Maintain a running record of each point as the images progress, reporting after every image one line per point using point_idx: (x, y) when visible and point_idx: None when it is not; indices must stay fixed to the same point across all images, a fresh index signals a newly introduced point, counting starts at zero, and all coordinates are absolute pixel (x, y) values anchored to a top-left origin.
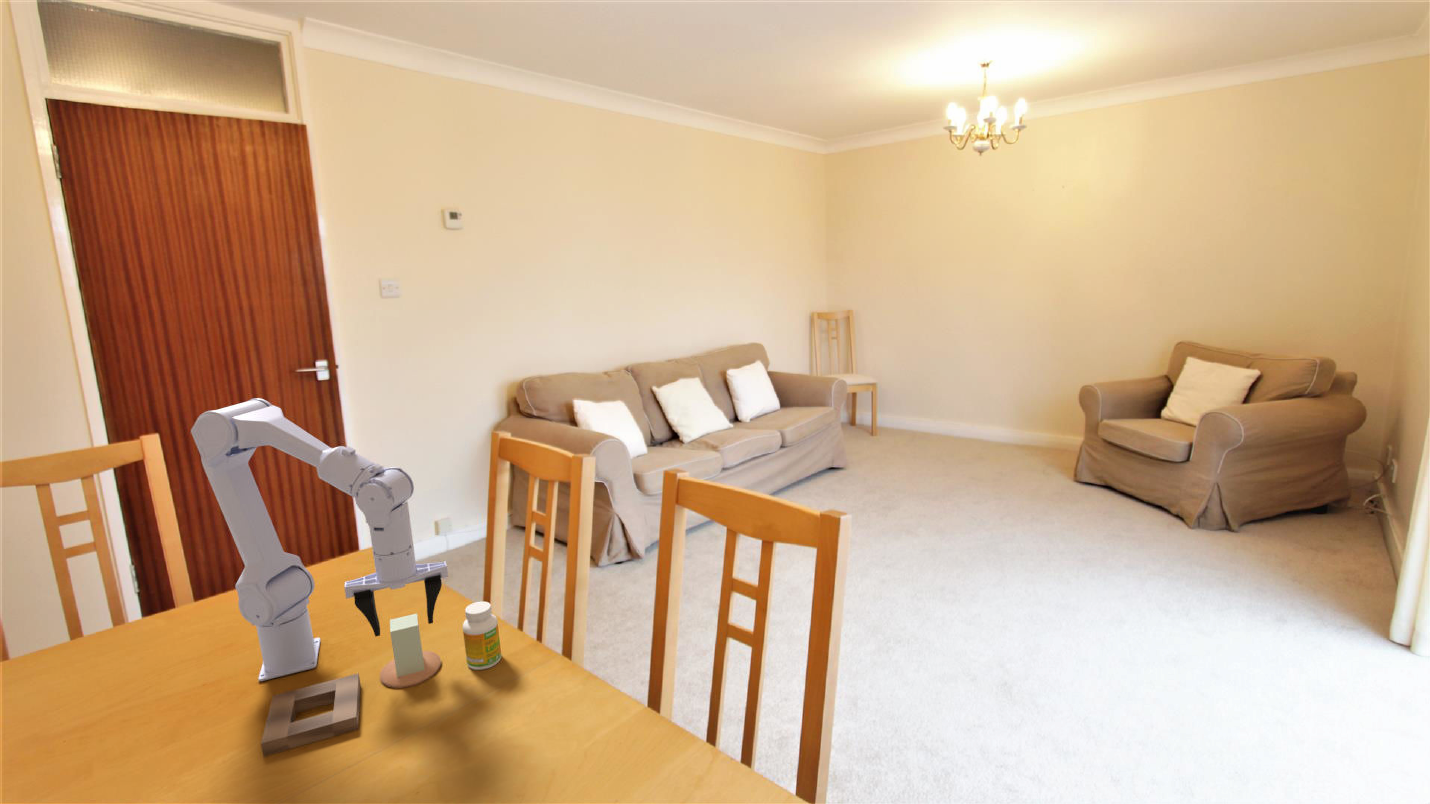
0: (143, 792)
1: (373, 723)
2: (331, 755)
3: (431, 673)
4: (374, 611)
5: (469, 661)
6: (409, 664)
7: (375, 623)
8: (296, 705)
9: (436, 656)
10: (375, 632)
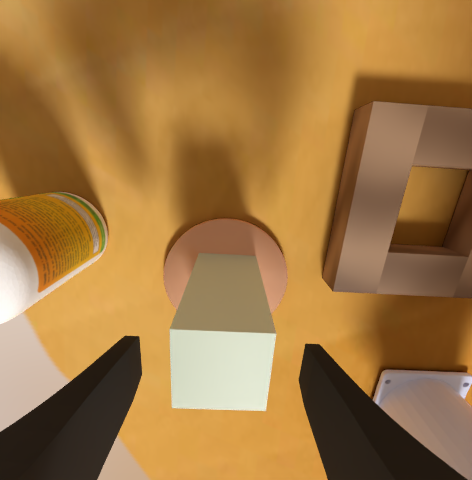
0: None
1: (321, 114)
2: (423, 33)
3: (185, 233)
4: (382, 463)
5: (90, 217)
6: (227, 263)
7: (340, 387)
8: (454, 252)
9: (171, 291)
10: (326, 355)
